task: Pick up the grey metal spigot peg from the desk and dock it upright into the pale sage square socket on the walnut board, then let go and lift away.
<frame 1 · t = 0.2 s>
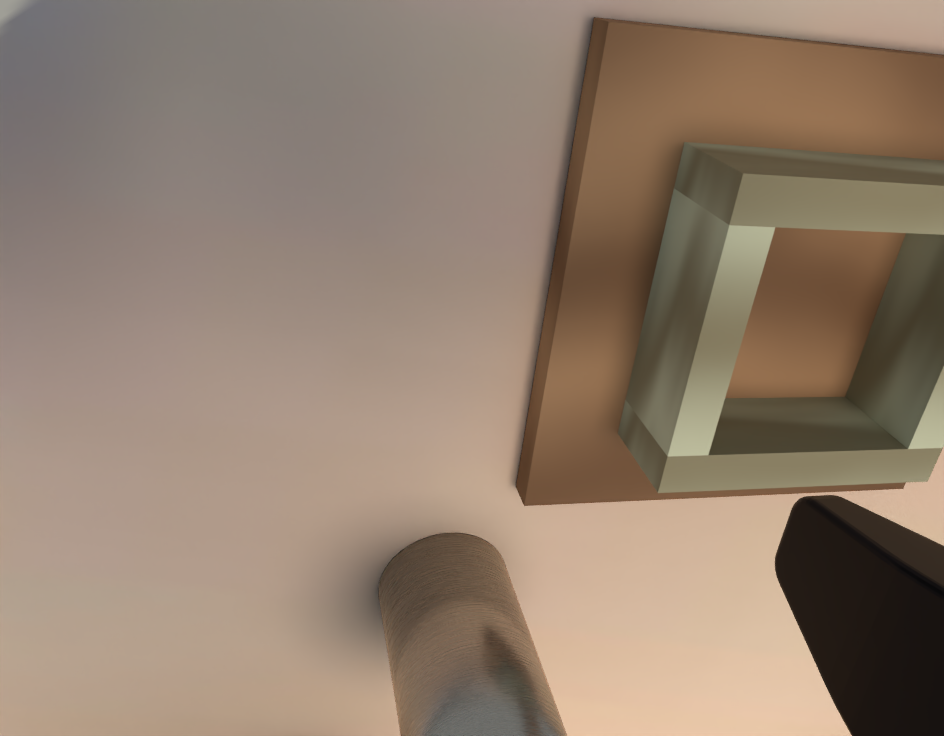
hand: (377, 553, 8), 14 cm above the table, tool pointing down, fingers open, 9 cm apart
spigot peg: (443, 584, 28), on the table
dock board: (768, 290, 25), on the table
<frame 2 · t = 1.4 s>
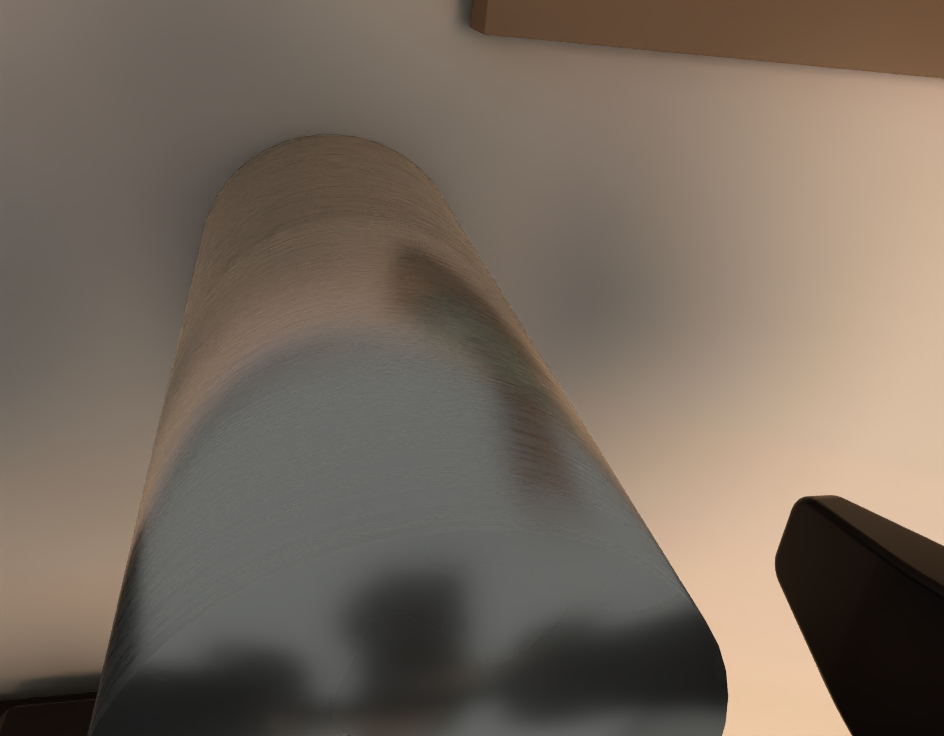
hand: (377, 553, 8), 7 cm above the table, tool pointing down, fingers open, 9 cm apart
spigot peg: (333, 262, 14), on the table
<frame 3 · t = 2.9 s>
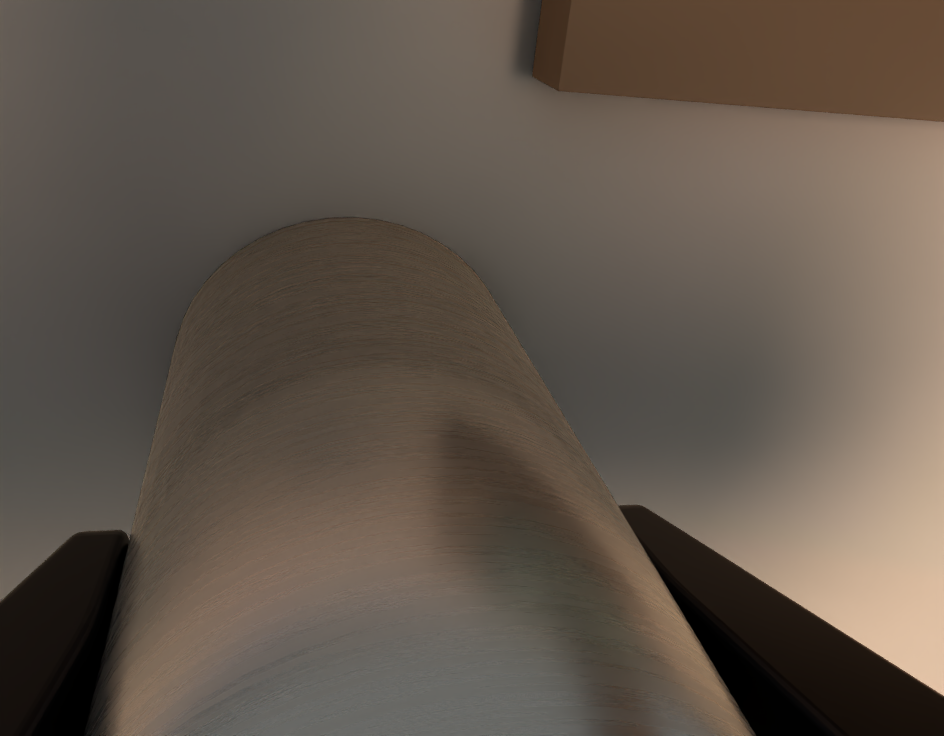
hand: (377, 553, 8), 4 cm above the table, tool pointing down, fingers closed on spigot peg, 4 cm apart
spigot peg: (347, 377, 11), on the table, touching gripper
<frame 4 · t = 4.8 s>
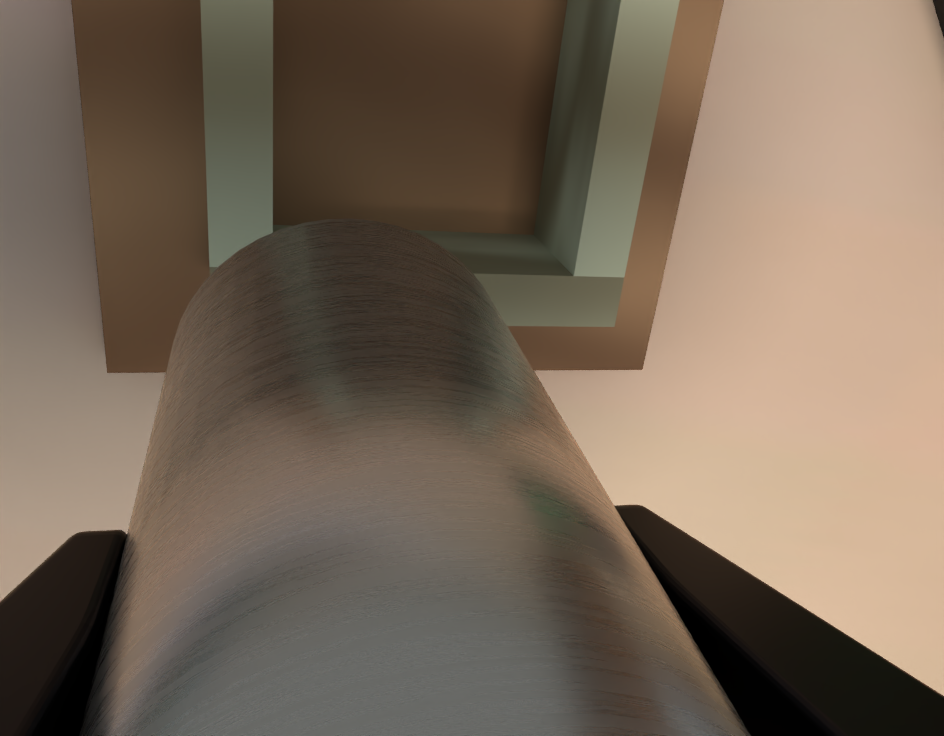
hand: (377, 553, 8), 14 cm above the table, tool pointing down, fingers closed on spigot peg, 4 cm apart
spigot peg: (345, 378, 11), point 10 cm above the table, touching gripper
dock board: (410, 85, 19), on the table
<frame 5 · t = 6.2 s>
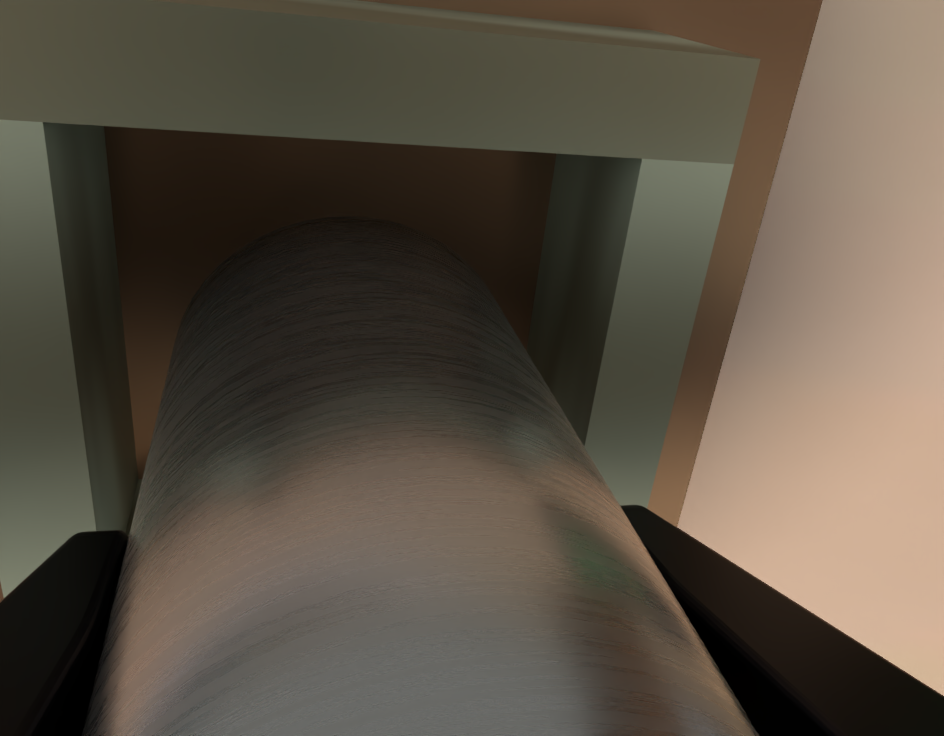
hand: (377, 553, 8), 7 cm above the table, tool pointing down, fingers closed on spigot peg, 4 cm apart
spigot peg: (347, 377, 11), point 3 cm above the table, touching gripper
dock board: (335, 280, 14), on the table
when the fingers open (6 cm above the table, at t = 7.1 s): spigot peg drops 1 cm, resting on dock board.
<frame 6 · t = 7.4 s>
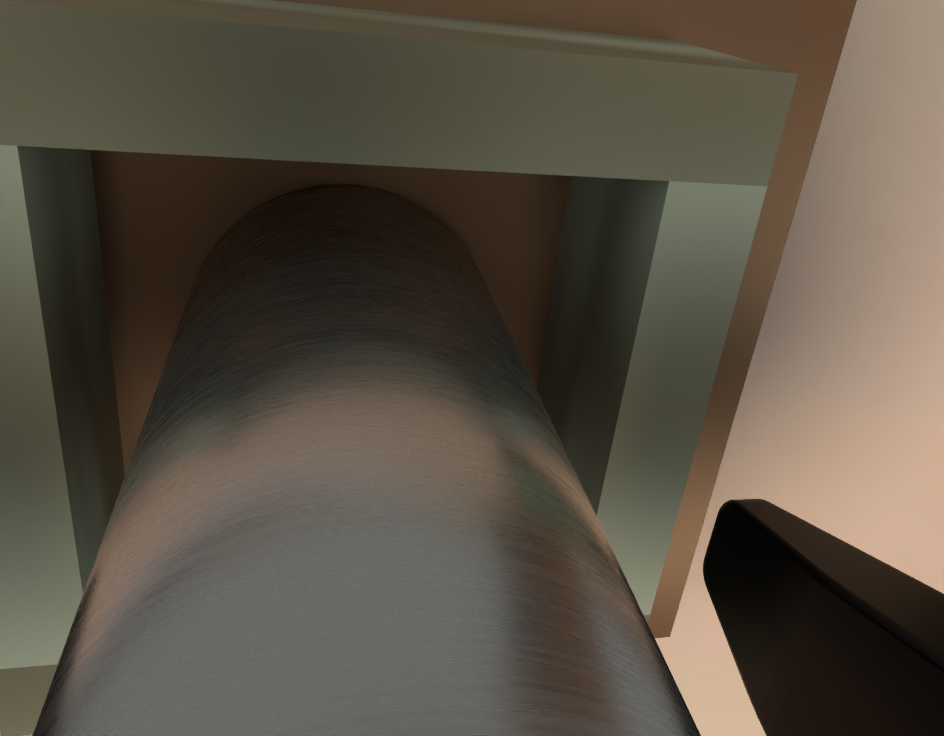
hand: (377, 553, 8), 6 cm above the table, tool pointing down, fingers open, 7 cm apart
spigot peg: (344, 332, 12), point 1 cm above the table, touching dock board
dock board: (336, 303, 13), on the table
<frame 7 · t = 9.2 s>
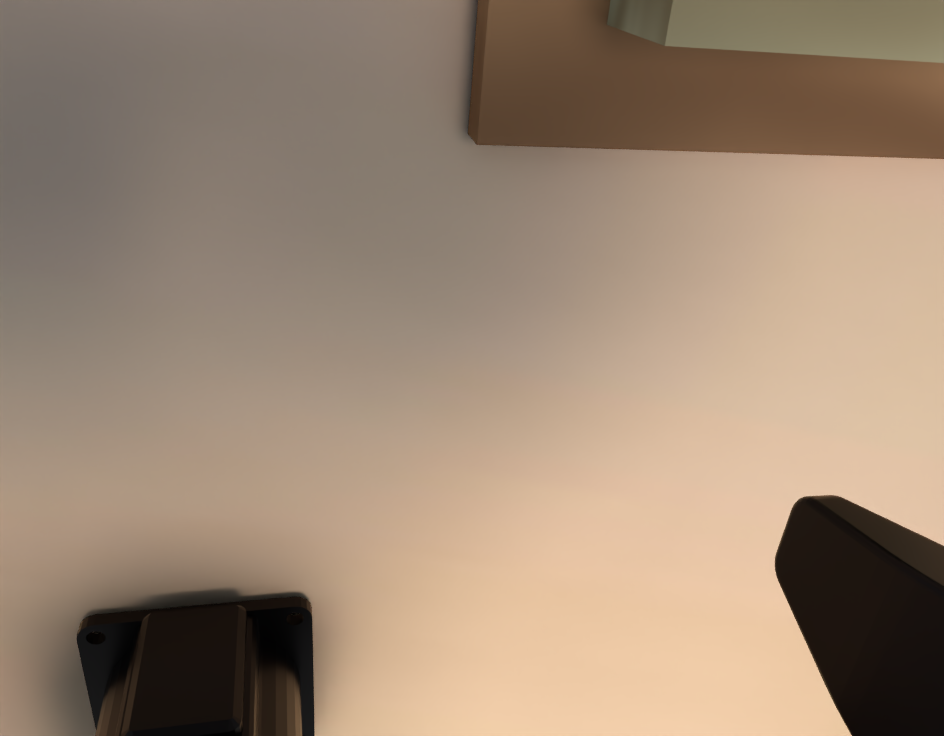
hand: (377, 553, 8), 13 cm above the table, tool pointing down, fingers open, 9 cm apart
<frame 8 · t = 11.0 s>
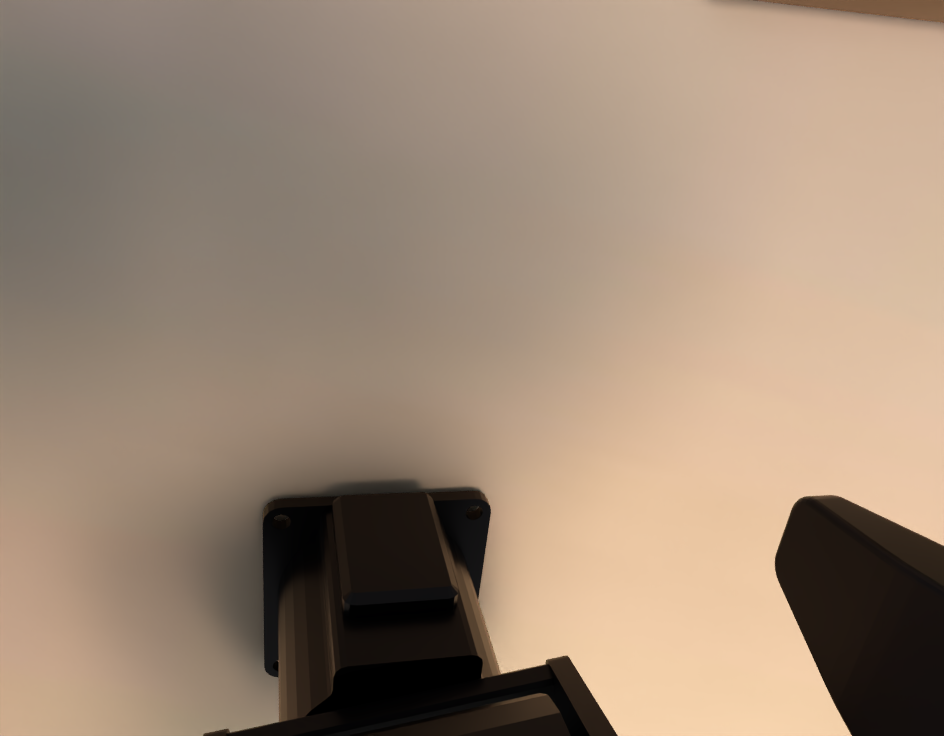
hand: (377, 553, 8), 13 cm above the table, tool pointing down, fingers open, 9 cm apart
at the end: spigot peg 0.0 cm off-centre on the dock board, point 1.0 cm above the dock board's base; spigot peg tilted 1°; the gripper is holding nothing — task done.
